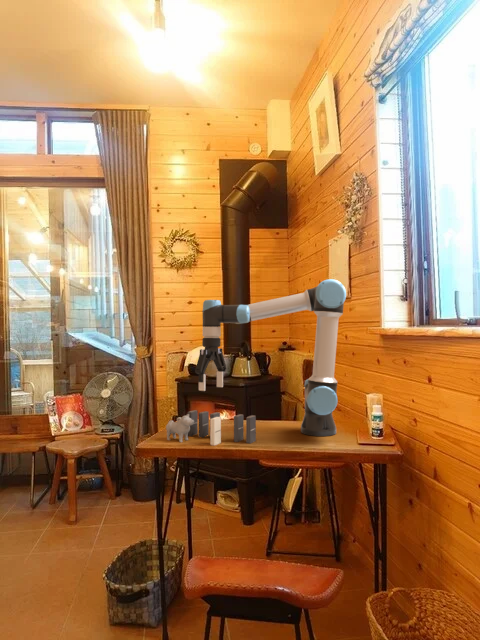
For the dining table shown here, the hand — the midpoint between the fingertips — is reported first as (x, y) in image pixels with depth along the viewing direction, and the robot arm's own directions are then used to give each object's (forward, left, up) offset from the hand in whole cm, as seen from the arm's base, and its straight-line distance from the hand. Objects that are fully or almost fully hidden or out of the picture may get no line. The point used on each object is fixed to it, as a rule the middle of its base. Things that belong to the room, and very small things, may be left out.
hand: (211, 388), depth 186 cm
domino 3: (-1, -1, -20) cm, 20 cm away
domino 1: (+10, -1, -20) cm, 22 cm away
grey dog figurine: (+9, +9, -20) cm, 24 cm away
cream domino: (-7, +8, -20) cm, 23 cm away
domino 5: (-18, -1, -20) cm, 27 cm away
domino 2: (+4, -1, -20) cm, 21 cm away
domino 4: (-12, -1, -20) cm, 24 cm away
